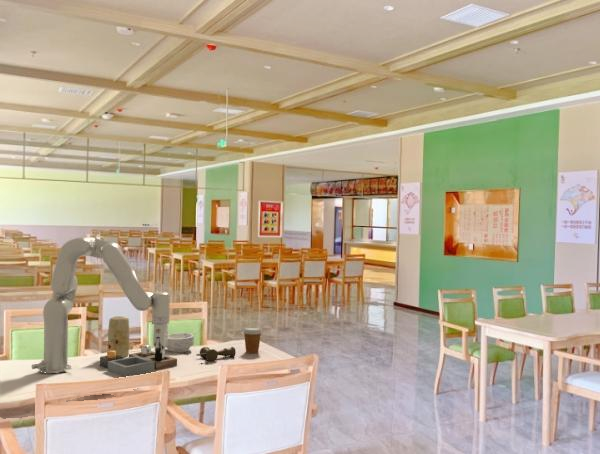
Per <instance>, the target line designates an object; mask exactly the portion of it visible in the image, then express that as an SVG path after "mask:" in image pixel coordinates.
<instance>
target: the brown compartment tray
mask: <svg viewBox="0 0 600 454" xmlns="http://www.w3.org/2000/svg"><path fill="white" fill-rule="evenodd" d="M134 356H138V357H142V356H141V351H139V352H138V351H137V352H134V353H129V355H128V358H129V357H134ZM142 358H145V359H148V360H151V361H154V362H155V365H154V371H158V370H162V369H166V368H167V369H168V368H171V367H176V366H178V358H176V357H173V356H169V355H166V354H165V360H162V361H155V351H153V350H151V356H146V357H142Z"/></svg>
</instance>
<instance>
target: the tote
mask: <svg viewBox="0 0 600 454" xmlns="http://www.w3.org/2000/svg"><path fill="white" fill-rule="evenodd" d="M154 365H155V362H154V361H151V360H148V359H145V358H142V357H138V356H134V357H129V356H128V357H124V358H123V359H118V360H112V361H108V369H107V371H108V372H110V373H113V374H115V375H118V376H120V377H123V376H129V377H131V376H130V375H133V376H138V375H142V374H147V373H152V372H154V371H155V369H154Z"/></svg>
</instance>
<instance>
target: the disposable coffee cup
mask: <svg viewBox="0 0 600 454" xmlns="http://www.w3.org/2000/svg"><path fill="white" fill-rule="evenodd" d="M262 332H263V330H262V328H261V327H258V326H257V327H256V326H249V327H247V326H246V327H244V329H243V335H244V345H245V353H247V354H258V353H259V350H260V343H261V336H262Z"/></svg>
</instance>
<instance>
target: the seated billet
mask: <svg viewBox="0 0 600 454" xmlns="http://www.w3.org/2000/svg"><path fill="white" fill-rule="evenodd" d="M140 347H141V348H140V352H141V356H142V357H146V356H151V351H152V345H151V344H142V345H141V346H140Z"/></svg>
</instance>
